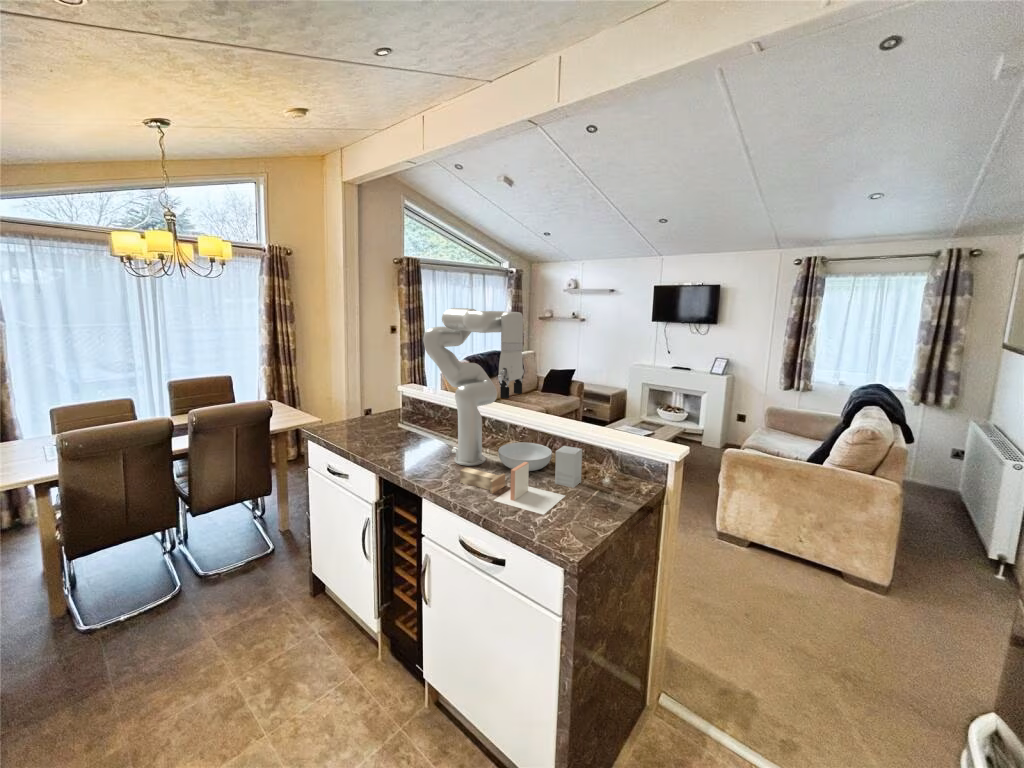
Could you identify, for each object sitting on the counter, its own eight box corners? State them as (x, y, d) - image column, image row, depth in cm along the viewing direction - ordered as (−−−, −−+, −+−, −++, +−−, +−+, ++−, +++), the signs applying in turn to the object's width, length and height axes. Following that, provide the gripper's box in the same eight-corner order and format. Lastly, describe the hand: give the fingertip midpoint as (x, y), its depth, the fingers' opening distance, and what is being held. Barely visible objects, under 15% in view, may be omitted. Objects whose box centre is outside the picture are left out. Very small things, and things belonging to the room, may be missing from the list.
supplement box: (581, 482, 157) (583, 448, 155) (573, 489, 151) (575, 454, 148) (562, 478, 161) (563, 445, 158) (554, 485, 154) (555, 450, 152)
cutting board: (493, 502, 140) (493, 500, 140) (518, 485, 153) (518, 483, 153) (543, 516, 131) (543, 514, 131) (565, 497, 144) (565, 495, 144)
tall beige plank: (456, 486, 152) (456, 472, 152) (469, 478, 159) (469, 465, 158) (492, 495, 145) (492, 481, 144) (505, 487, 152) (505, 473, 151)
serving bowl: (505, 479, 159) (505, 461, 157) (492, 460, 179) (492, 444, 177) (559, 474, 164) (560, 457, 163) (541, 456, 184) (541, 440, 183)
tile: (510, 499, 141) (510, 470, 139) (524, 490, 148) (524, 461, 146) (514, 500, 140) (515, 471, 138) (528, 491, 147) (529, 462, 146)
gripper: (514, 345, 162) (513, 391, 165) (489, 349, 147) (489, 399, 150) (532, 346, 159) (531, 393, 162) (509, 350, 144) (509, 401, 146)
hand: (511, 395), depth 156 cm, fingers open, 9 cm apart
